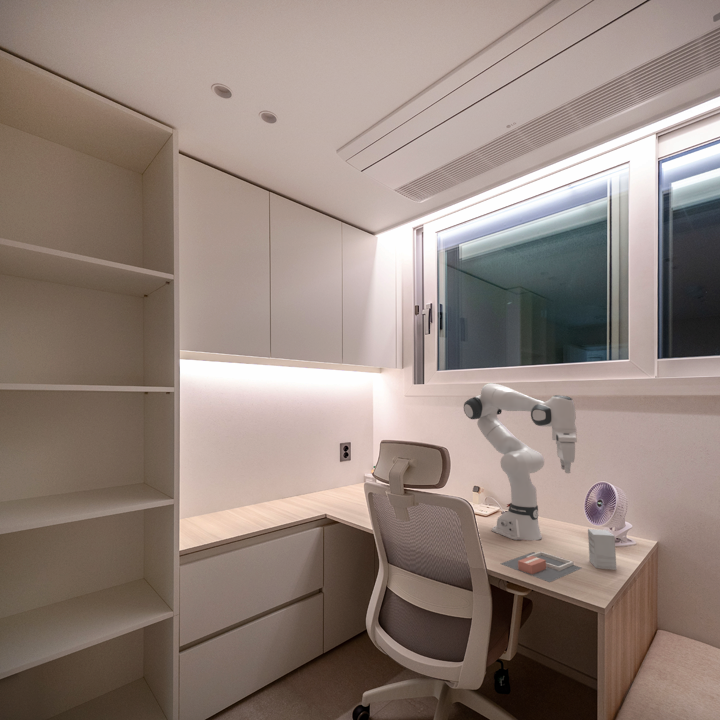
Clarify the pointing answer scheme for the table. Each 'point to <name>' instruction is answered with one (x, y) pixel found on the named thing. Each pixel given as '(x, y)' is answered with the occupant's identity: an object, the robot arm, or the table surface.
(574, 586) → the table surface
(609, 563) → the supplement box
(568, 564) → the frame
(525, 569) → the card deck
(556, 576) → the desk mat
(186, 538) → the table surface
